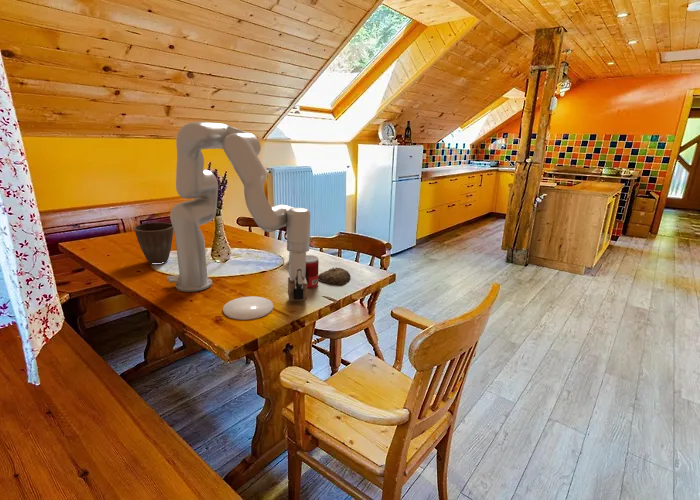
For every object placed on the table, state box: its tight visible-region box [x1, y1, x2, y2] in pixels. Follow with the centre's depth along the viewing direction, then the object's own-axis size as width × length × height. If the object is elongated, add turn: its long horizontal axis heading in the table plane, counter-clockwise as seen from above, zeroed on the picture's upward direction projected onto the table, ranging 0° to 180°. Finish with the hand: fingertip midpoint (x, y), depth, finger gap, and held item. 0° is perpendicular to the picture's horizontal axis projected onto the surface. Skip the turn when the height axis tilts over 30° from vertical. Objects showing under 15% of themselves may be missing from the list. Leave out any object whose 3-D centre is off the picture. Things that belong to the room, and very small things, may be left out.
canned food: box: [305, 254, 320, 290], centre depth 145 cm, size 8×8×11 cm
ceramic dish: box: [222, 295, 274, 321], centre depth 126 cm, size 16×16×1 cm
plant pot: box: [133, 222, 174, 265], centre depth 164 cm, size 15×15×16 cm
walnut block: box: [287, 276, 308, 301], centre depth 132 cm, size 6×6×6 cm
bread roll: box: [318, 267, 352, 286], centre depth 154 cm, size 13×12×5 cm
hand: (297, 294), depth 132 cm, fingers closed on walnut block, 6 cm apart
